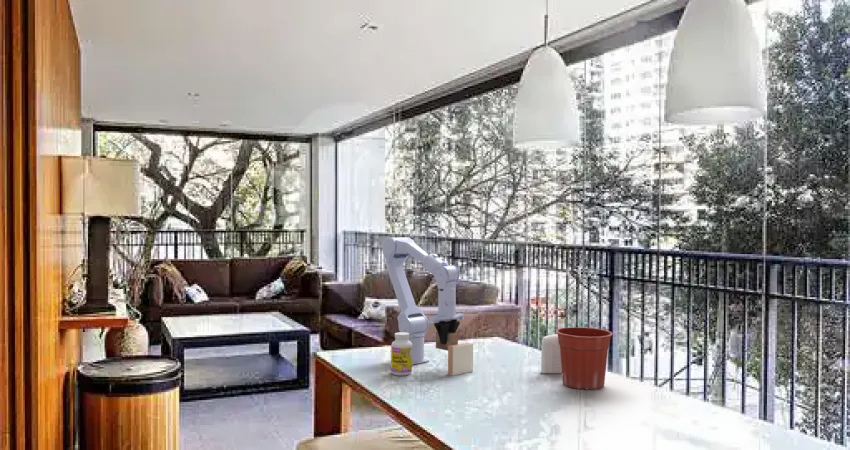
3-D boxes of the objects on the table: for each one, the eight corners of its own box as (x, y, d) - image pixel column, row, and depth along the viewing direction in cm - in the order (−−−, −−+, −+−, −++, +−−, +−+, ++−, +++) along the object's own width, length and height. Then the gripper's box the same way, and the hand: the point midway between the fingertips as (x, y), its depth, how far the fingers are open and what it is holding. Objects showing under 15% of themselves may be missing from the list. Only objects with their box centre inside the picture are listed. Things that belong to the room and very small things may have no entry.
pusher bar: (435, 348, 218) (435, 331, 218) (441, 347, 219) (441, 330, 219) (452, 351, 212) (452, 334, 212) (457, 350, 214) (457, 333, 213)
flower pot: (614, 393, 186) (614, 337, 186) (555, 390, 190) (555, 335, 190) (609, 380, 203) (610, 328, 202) (555, 377, 206) (556, 326, 206)
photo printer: (569, 370, 215) (569, 333, 215) (574, 373, 211) (574, 335, 211) (539, 371, 213) (539, 333, 213) (543, 374, 209) (543, 335, 209)
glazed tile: (447, 374, 209) (448, 346, 209) (467, 370, 215) (467, 342, 215) (453, 375, 207) (453, 347, 207) (472, 371, 213) (473, 343, 213)
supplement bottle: (388, 375, 206) (388, 334, 206) (394, 370, 213) (394, 331, 213) (408, 376, 205) (409, 335, 205) (414, 372, 211) (414, 332, 211)
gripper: (439, 305, 208) (438, 347, 208) (471, 301, 217) (470, 342, 218) (424, 303, 213) (424, 344, 213) (456, 299, 223) (455, 339, 223)
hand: (446, 343), depth 216 cm, fingers closed on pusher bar, 2 cm apart
